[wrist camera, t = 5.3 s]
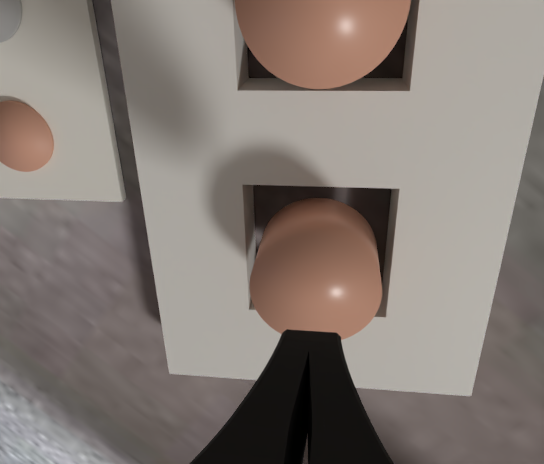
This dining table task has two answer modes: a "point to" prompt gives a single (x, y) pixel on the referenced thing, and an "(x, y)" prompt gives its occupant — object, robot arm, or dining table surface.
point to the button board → (332, 178)
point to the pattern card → (55, 105)
